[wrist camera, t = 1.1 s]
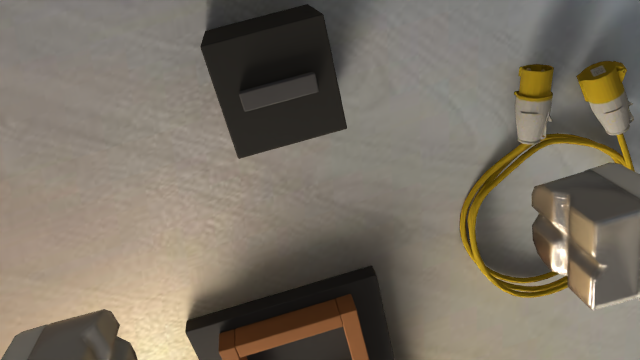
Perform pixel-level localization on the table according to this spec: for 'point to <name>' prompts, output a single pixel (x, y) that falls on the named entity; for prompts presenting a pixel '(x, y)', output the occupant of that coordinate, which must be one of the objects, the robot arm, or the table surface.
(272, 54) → the black block
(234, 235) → the table surface
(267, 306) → the base pad
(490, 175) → the extension cord
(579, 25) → the table surface
